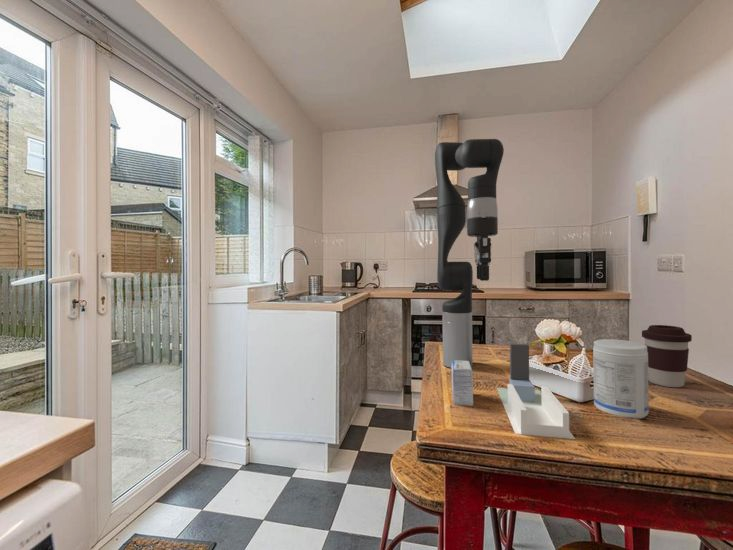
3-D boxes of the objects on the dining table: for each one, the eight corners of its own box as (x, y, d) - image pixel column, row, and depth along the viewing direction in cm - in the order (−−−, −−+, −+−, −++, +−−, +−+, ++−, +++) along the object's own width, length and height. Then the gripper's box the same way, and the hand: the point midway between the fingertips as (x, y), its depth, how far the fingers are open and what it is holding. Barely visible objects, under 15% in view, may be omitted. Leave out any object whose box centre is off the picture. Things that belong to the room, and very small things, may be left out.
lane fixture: (496, 390, 88) (496, 370, 88) (539, 392, 86) (538, 372, 86) (515, 436, 64) (515, 409, 64) (575, 442, 61) (575, 413, 61)
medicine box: (473, 408, 77) (473, 369, 77) (452, 407, 78) (452, 368, 78) (470, 395, 85) (469, 360, 85) (451, 394, 86) (451, 359, 85)
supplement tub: (616, 400, 80) (616, 337, 80) (660, 417, 71) (660, 346, 71) (582, 405, 78) (582, 340, 77) (623, 423, 69) (623, 349, 68)
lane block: (509, 391, 85) (509, 343, 85) (528, 392, 84) (528, 343, 84) (513, 400, 79) (513, 348, 79) (534, 402, 78) (534, 349, 78)
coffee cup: (700, 386, 88) (700, 328, 88) (677, 392, 85) (677, 331, 85) (655, 375, 98) (655, 322, 97) (633, 380, 94) (633, 325, 94)
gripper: (465, 221, 97) (466, 279, 98) (468, 214, 83) (469, 281, 84) (493, 220, 96) (494, 278, 96) (501, 212, 82) (502, 280, 82)
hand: (482, 279), depth 90 cm, fingers open, 8 cm apart
